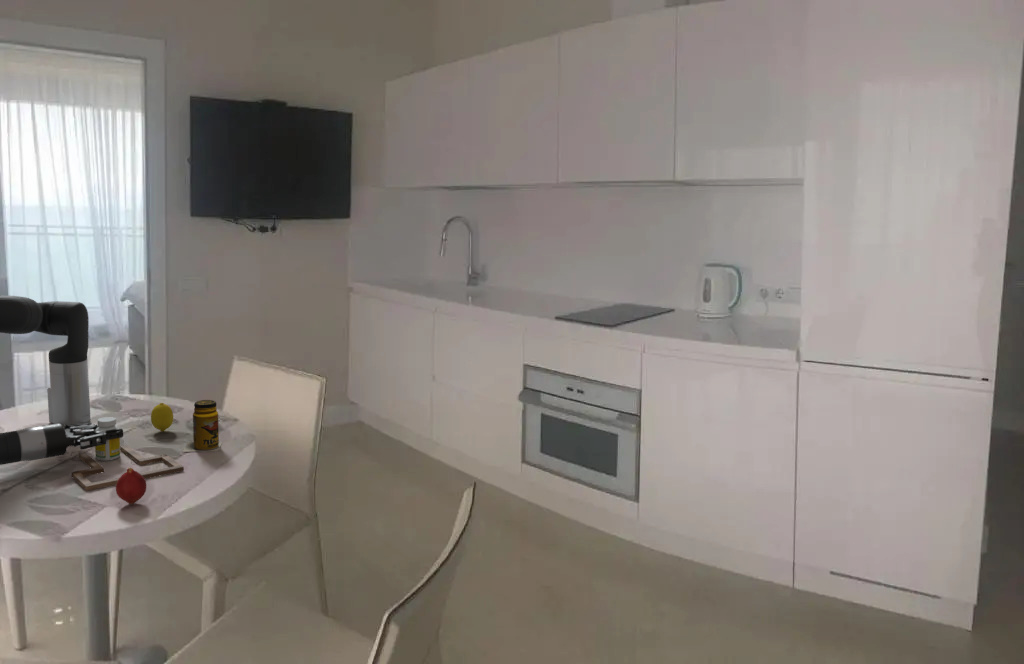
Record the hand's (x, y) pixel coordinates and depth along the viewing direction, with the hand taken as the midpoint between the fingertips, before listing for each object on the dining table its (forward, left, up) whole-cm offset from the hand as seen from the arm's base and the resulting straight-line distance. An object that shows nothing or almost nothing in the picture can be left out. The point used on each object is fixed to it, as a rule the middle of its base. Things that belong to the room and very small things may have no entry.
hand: (118, 429), depth 197 cm
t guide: (+5, -7, -7) cm, 10 cm away
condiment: (+15, +12, -7) cm, 20 cm away
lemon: (-2, +20, -7) cm, 21 cm away
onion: (+22, -25, -7) cm, 34 cm away
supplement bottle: (-1, -2, -7) cm, 7 cm away
